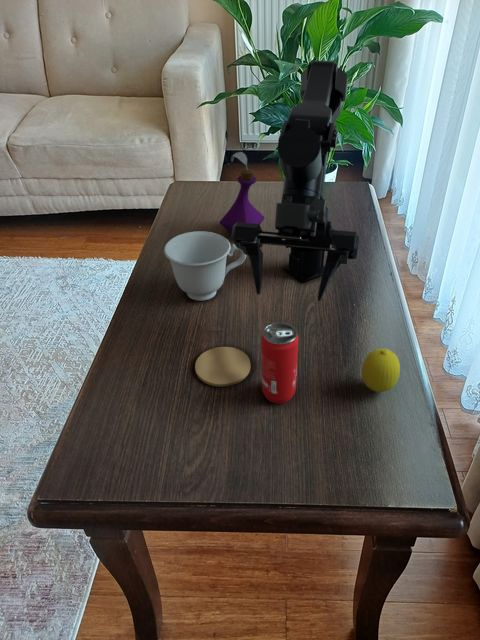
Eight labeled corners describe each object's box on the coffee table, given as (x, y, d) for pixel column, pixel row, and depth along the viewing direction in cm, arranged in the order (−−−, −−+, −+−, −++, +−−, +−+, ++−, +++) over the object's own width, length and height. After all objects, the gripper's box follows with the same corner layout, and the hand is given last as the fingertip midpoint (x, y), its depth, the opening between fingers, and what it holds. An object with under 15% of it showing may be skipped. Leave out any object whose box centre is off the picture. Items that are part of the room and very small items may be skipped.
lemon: (395, 404, 78) (404, 365, 73) (357, 399, 79) (364, 360, 74) (395, 379, 82) (404, 341, 77) (360, 375, 83) (366, 336, 78)
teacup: (251, 305, 98) (250, 259, 91) (171, 314, 96) (164, 267, 89) (243, 271, 107) (241, 227, 100) (169, 278, 105) (163, 233, 98)
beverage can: (260, 382, 82) (260, 322, 74) (293, 380, 82) (296, 320, 75) (263, 406, 78) (263, 346, 70) (297, 404, 79) (301, 343, 71)
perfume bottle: (265, 230, 120) (265, 151, 108) (247, 244, 115) (245, 163, 103) (238, 222, 123) (235, 144, 111) (219, 235, 118) (214, 156, 106)
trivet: (231, 342, 90) (231, 339, 89) (261, 372, 84) (261, 369, 84) (185, 362, 86) (185, 359, 85) (213, 395, 80) (212, 392, 80)
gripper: (230, 169, 72) (215, 280, 72) (366, 178, 70) (353, 293, 69) (244, 198, 83) (231, 294, 83) (362, 207, 81) (350, 306, 80)
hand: (288, 297), depth 78 cm, fingers open, 9 cm apart
